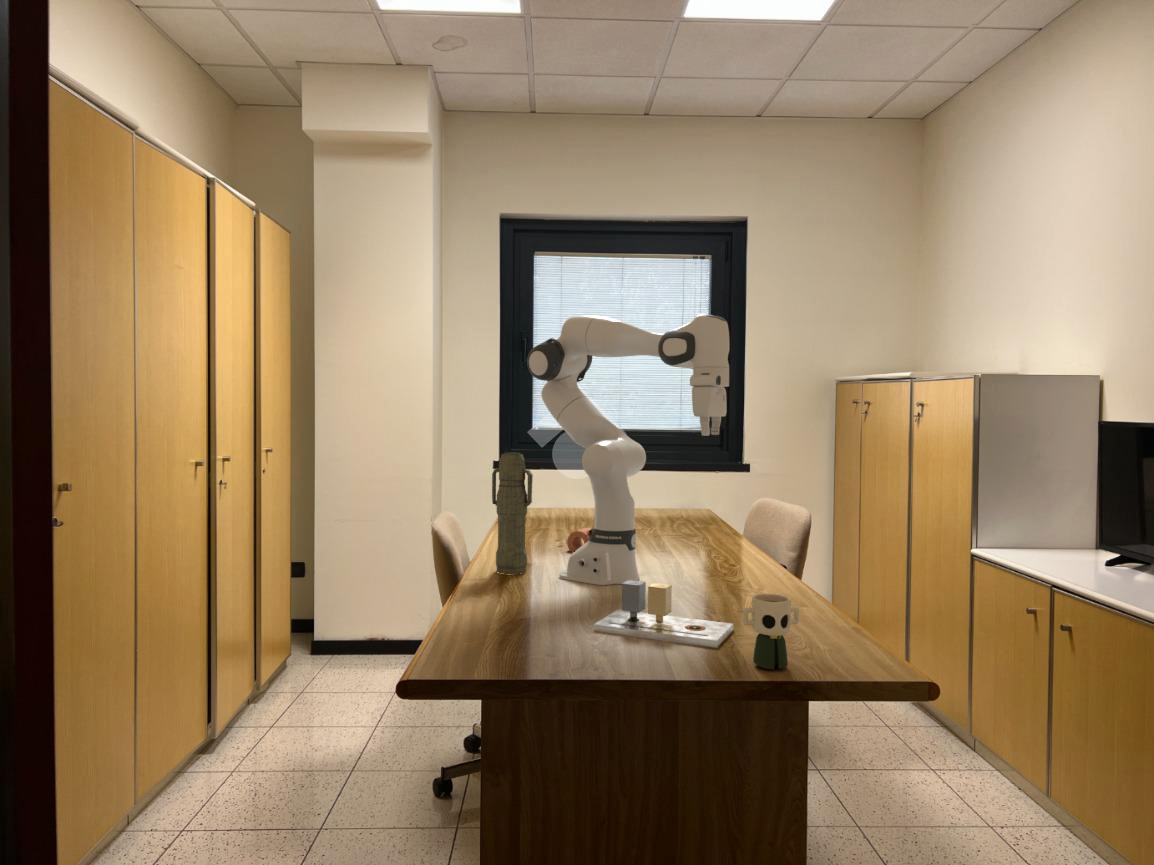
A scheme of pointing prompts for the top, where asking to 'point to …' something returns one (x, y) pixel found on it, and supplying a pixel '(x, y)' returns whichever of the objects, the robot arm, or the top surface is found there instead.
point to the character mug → (770, 628)
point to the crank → (577, 539)
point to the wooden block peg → (659, 600)
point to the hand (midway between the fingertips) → (710, 435)
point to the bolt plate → (670, 630)
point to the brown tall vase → (511, 512)
